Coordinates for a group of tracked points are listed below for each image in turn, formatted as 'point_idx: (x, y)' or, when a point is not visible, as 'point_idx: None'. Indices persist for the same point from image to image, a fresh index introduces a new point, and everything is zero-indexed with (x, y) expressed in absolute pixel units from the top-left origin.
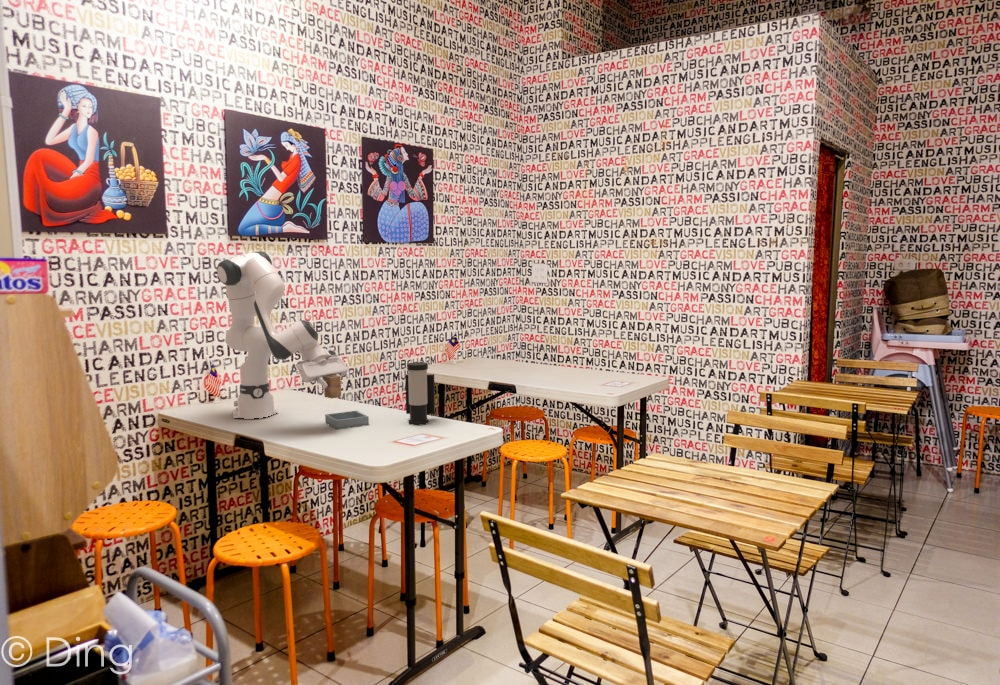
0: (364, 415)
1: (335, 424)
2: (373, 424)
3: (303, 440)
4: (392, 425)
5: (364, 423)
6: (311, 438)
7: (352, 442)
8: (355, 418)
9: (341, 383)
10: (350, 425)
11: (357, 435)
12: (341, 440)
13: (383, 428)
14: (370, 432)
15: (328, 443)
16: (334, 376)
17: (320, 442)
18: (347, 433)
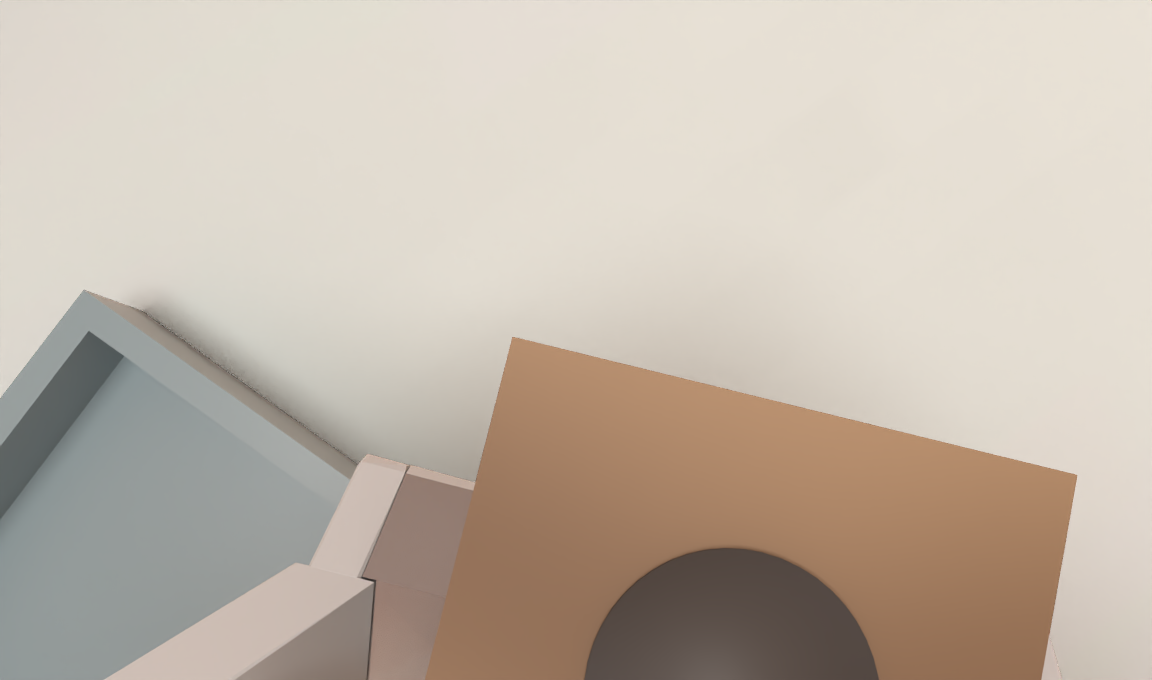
0: (42, 385)
1: None
2: (95, 269)
3: (1134, 610)
4: (68, 16)
5: (177, 340)
6: None
7: (952, 5)
8: (250, 406)
9: (372, 458)
10: (338, 455)
11: (662, 134)
12: (933, 173)
13: (245, 35)
14: (478, 72)
15: (1108, 232)
16: (727, 546)
17: (1114, 349)
18: (626, 305)
